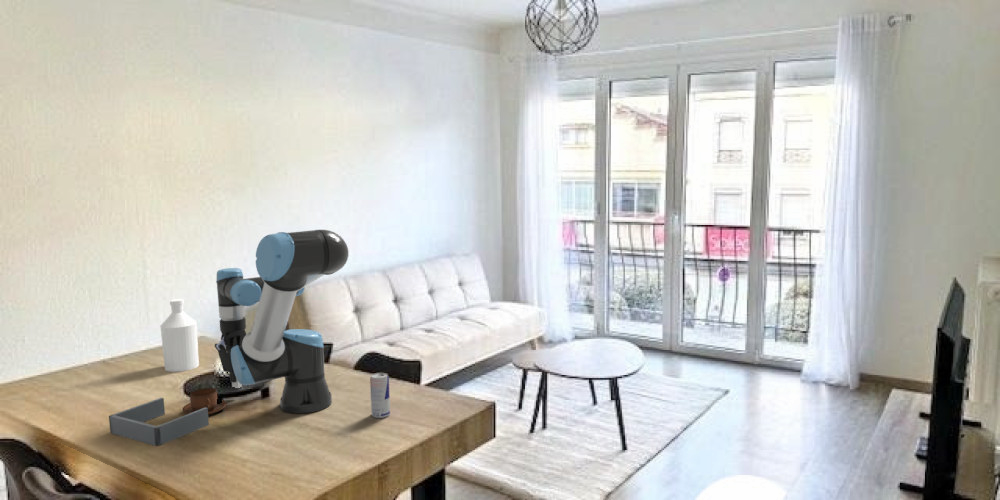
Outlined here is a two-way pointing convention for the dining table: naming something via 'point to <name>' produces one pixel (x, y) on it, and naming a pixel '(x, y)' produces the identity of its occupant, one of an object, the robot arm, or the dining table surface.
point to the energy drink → (380, 395)
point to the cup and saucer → (204, 401)
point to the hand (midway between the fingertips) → (237, 390)
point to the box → (134, 428)
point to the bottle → (179, 339)
